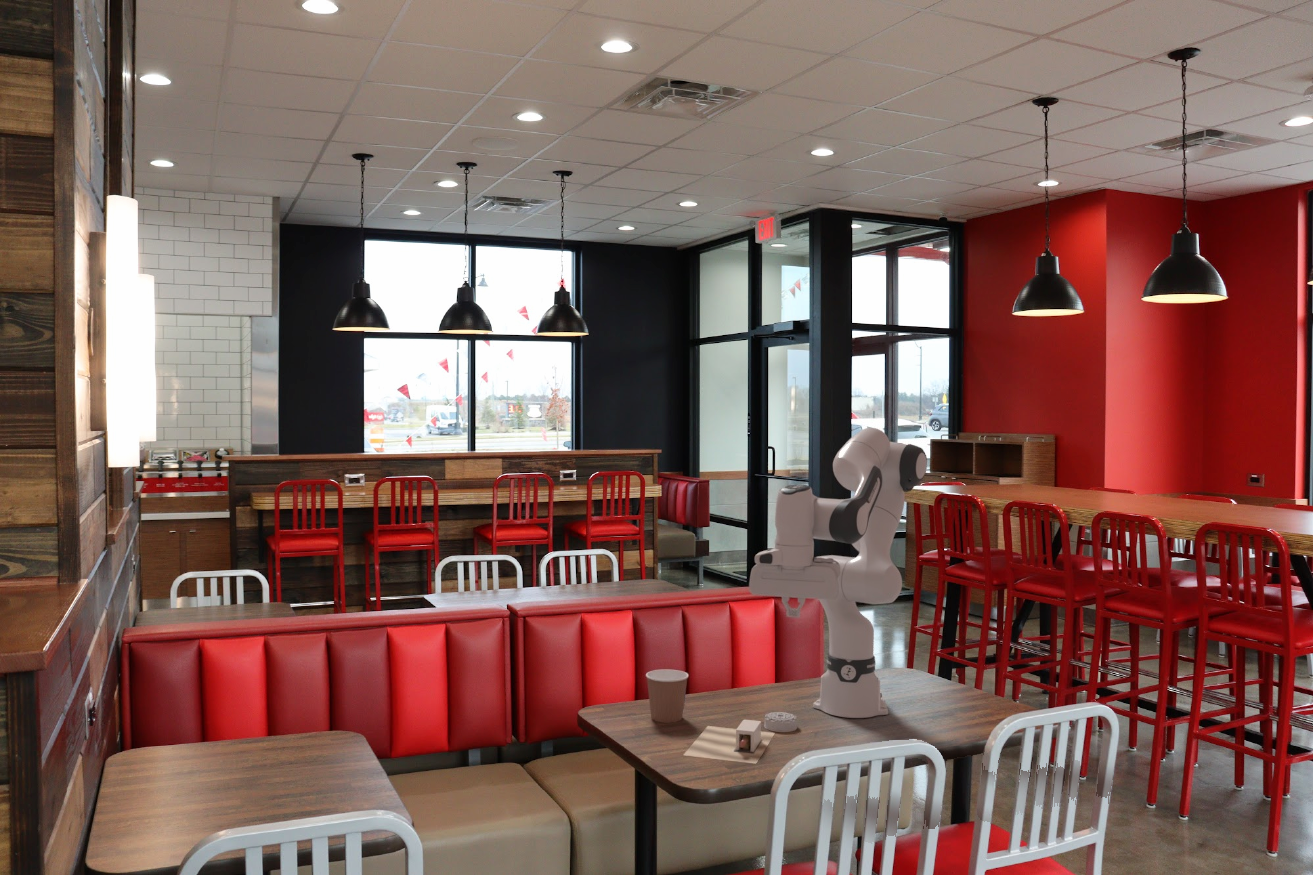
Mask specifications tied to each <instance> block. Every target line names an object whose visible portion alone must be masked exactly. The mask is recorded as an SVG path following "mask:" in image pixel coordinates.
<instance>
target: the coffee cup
mask: <svg viewBox="0 0 1313 875" xmlns="http://www.w3.org/2000/svg"><path fill="white" fill-rule="evenodd" d="M645 677H646V681H647V689H648V699H649V700H648V701H649V710H650V718H651V720H652V721H655V722H658V723H668V724H669V723H677V722H679V721H681V720H683V715H684V714H683V713H684V709H685V702H686V701H685V700H686V692H687V682H688V678H689V673H688V672H685V671H683V670H678V669H677V670H676V669H670V668H669V669H668V668H667V669H663V668H662V669H654V670H651V671H648V672H646V674H645Z"/></svg>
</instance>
